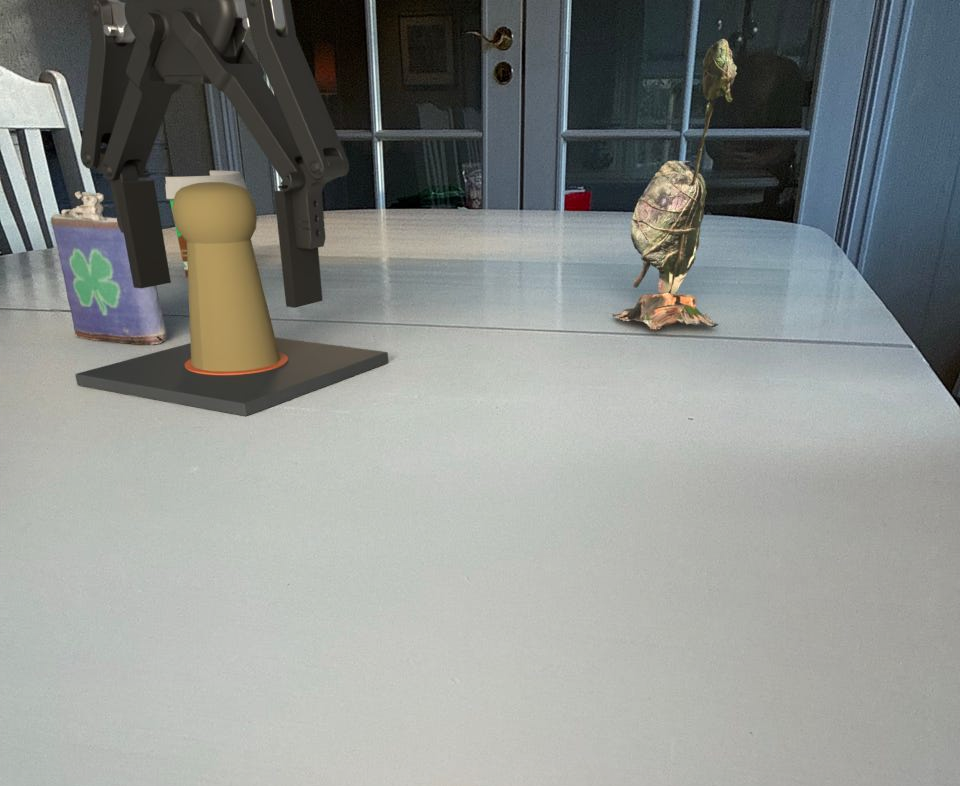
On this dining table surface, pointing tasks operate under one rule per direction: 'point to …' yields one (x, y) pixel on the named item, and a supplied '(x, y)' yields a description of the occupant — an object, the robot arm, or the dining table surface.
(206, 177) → the food container
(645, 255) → the plant with pod
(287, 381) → the placemat
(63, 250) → the flask
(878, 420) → the dining table surface
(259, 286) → the cork
